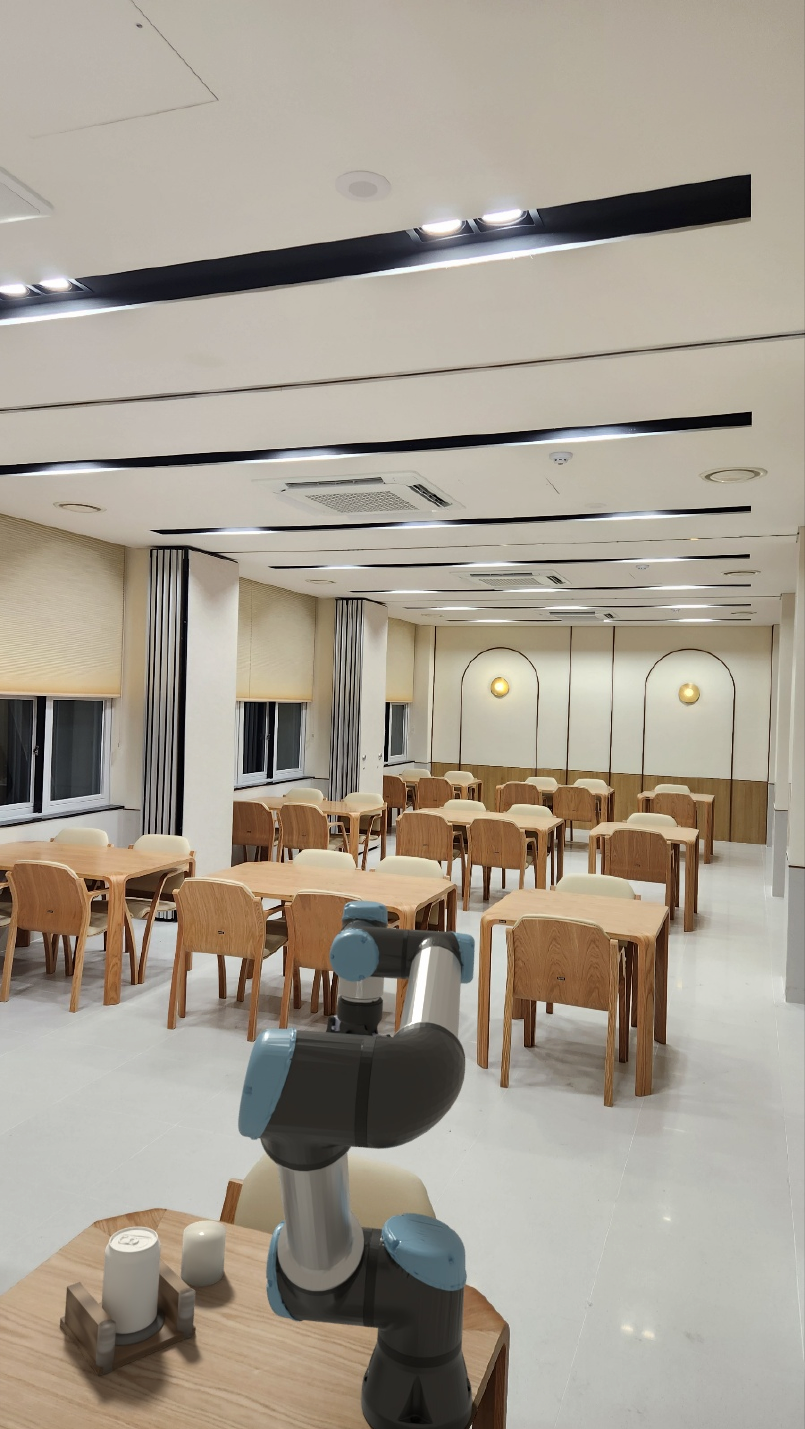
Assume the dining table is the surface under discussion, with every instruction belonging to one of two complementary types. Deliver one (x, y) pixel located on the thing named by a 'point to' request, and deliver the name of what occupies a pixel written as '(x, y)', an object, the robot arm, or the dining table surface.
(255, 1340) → the dining table surface
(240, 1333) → the dining table surface
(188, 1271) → the white pillar candle
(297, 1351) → the dining table surface
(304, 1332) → the dining table surface
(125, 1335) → the wooden holder
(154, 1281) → the beverage can
